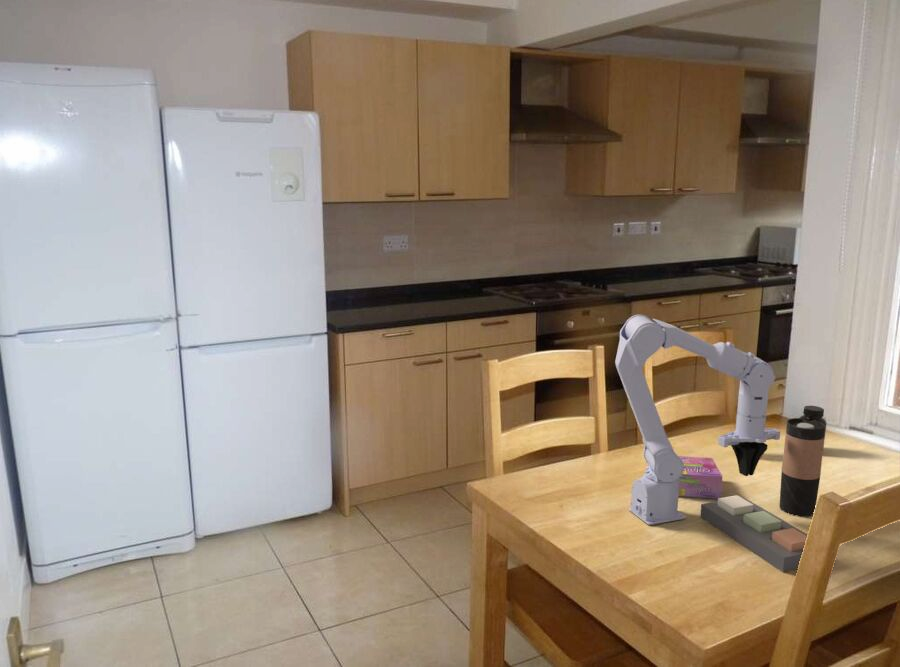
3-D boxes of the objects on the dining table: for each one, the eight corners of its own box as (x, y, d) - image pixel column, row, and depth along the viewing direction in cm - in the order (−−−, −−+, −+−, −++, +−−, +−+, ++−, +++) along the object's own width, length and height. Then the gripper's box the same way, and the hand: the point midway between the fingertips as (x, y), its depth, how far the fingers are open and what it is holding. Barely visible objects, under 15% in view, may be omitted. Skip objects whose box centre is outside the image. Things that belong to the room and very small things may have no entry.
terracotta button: (790, 553, 138) (791, 543, 138) (771, 541, 143) (772, 531, 143) (811, 549, 140) (812, 539, 140) (791, 537, 145) (792, 527, 144)
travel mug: (794, 519, 158) (803, 431, 153) (770, 504, 165) (778, 419, 161) (824, 514, 160) (834, 427, 155) (799, 500, 167) (807, 416, 163)
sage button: (760, 534, 146) (761, 525, 145) (743, 523, 150) (743, 514, 150) (780, 530, 147) (781, 521, 147) (762, 519, 152) (763, 510, 152)
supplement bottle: (797, 453, 195) (801, 410, 192) (793, 445, 201) (797, 403, 198) (825, 456, 193) (830, 413, 190) (820, 447, 199) (825, 405, 196)
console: (782, 572, 137) (784, 557, 136) (700, 516, 159) (701, 504, 158) (828, 562, 140) (830, 547, 140) (741, 509, 162) (743, 496, 162)
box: (712, 456, 177) (722, 476, 166) (711, 478, 179) (720, 499, 167) (668, 454, 179) (675, 473, 168) (667, 476, 180) (673, 496, 169)
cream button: (733, 517, 153) (733, 508, 153) (717, 507, 158) (717, 498, 157) (752, 513, 155) (753, 504, 154) (736, 503, 159) (737, 495, 159)
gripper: (736, 423, 149) (731, 485, 152) (793, 415, 154) (787, 476, 157) (713, 413, 156) (708, 473, 159) (768, 406, 160) (763, 464, 163)
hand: (746, 473), depth 158 cm, fingers closed
